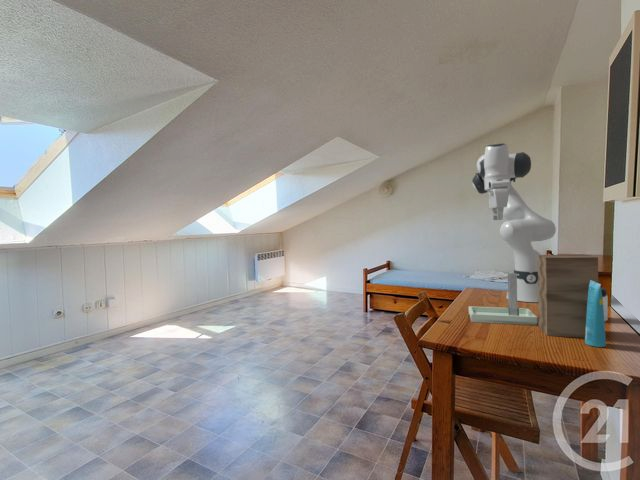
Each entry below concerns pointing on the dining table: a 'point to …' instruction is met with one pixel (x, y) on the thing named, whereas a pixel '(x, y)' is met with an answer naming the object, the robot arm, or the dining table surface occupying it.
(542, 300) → the stand
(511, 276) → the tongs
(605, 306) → the jar
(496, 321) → the tray
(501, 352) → the dining table surface
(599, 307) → the tube
